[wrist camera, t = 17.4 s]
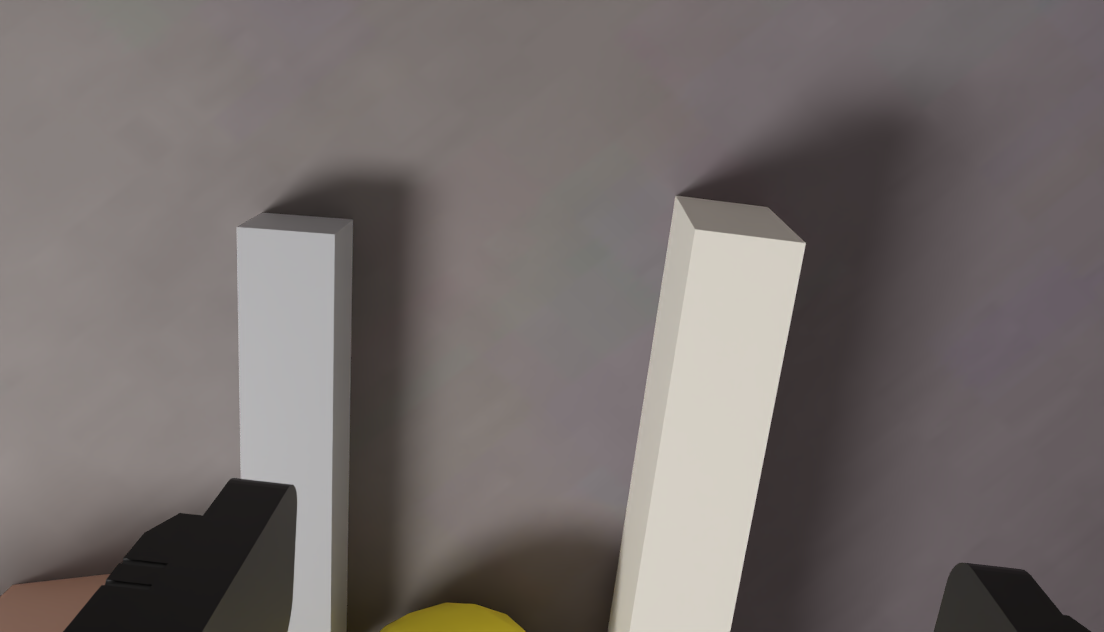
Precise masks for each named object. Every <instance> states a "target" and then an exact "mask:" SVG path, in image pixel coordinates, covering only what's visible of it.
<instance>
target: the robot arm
mask: <svg viewBox="0 0 1104 632" xmlns="http://www.w3.org/2000/svg"><path fill="white" fill-rule="evenodd" d="M296 521H297V492H296V488H295V486H294V485H291V484H282V483H274V482H265V481H256V480H247V479H238V478H232V479H230V480H229V481H228V483H227V484H226V485H225V487H224V488H223V489H222V491H221V492H220V493H219V495H218V496H217V498H216V499H215V500H214V502H213V503H212V504H211V506H210V507H209V508H208V510H207V511H206V512H205V514H204V515H203V516H200V515H191V514H182V513H179V514H178V515H176V516H174V517H172V518H170V519H169V520H167V521H165V522H163V523H161V524H160V525H158V526H156V527H154V528H152V529H151V530H149V531H147V532H145V533H144V534H143V535H142V536H141V538H140V539H139V540H138V541H137V542H136V544H135V545H134V546H133V547H132V549H131V550H130V551H129V552H128V553H127V555H126V556H125V557H124V558H123V563H122V564H118V566H117V567H116V568H115V569H114V570H113V572H112V573H111V574H110V575H109V576H108V578H107V579H106V583H105V585H101V586H100V587H99V589H98V590H97V591H96V592H95V593H94V595H93V596H92V597H91V598H90V600H89V601H88V602H87V603H86V604H85V606H84V607H83V608H82V609H81V610H80V612H79V613H78V614H77V615H76V617H75V618H74V619H73V620H72V621H71V623H70V624H69V625H68V626H67V627H66V629H65V630H64V631H63V632H288V627H289V623H290V617H291V610H292V602H293V584H294V563H295V542H296ZM934 632H1091V631H1090V630H1088V629H1087V628H1085V627H1084V626H1083V625H1081V624H1080V623H1078V622H1077V621H1076V620H1074V619H1073V618H1071V617H1070V616H1067V615H1063V614H1062V613H1061V612H1060V611H1059V610H1058V608H1057V607H1056V606H1055V605H1054V603H1053V602H1052V601H1051V600H1050V598H1049V597H1048V596H1047V595H1046V594H1045V592H1044V591H1043V590H1042V589H1041V587H1040V586H1039V585H1038V584H1037V583H1036V581H1035V580H1034V579H1033V578H1032V576H1031V575H1030V574H1029V573H1028V572H1026V571H1025V570H1022V569H1014V568H1006V567H997V566H988V565H979V564H971V563H959V564H957V565H956V566H955V567H954V568H953V569H952V571H951V573H950V575H949V577H948V580H947V583H946V587H945V591H944V595H943V599H942V602H941V606H940V610H939V614H938V618H937V622H936V625H935V629H934Z"/></svg>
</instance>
